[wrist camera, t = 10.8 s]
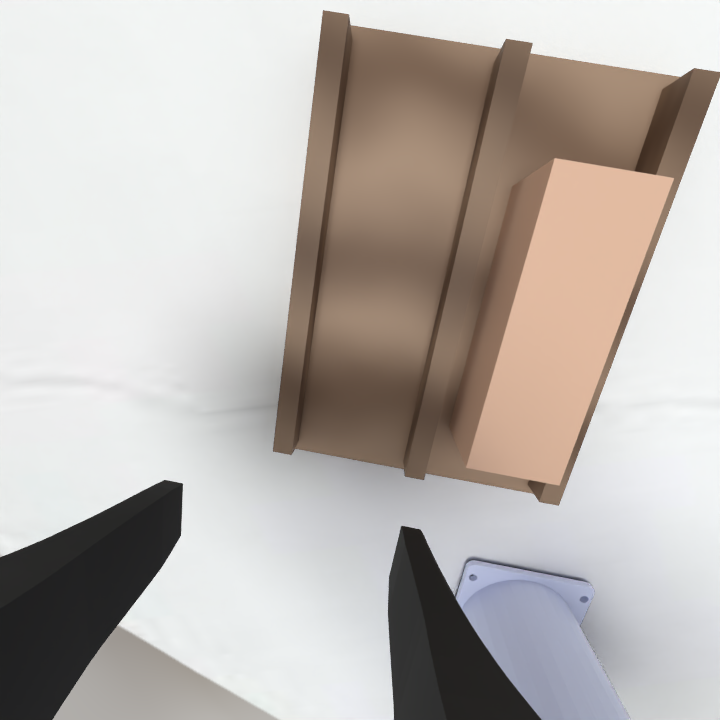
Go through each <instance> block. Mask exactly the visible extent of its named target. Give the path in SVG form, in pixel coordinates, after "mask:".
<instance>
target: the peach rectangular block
mask: <svg viewBox="0 0 720 720" xmlns="http://www.w3.org/2000/svg"><path fill="white" fill-rule="evenodd" d="M673 180H674V178H671V177H665V176H659V175H653V174H647V173H641V172H635V171H629V170H623V169H617V168H611V167H605V166H599V165H593V164H587V163H581V162H575V161H569V160H563V159H557V158H554V159H553V160H551V161H550V162H548V163H547V164H545V165H544V166H542V167H541V168H539V169H538V170H536V171H535V172H533V173H532V174H530V175H529V176H527V177H526V178H524V179H523V180H521V181H520V182H518V183H517V184H515V185H514V186H512V189H511V193H510V197H509V200H508V204H507V208H506V212H505V216H504V220H503V223H502V227H501V231H500V235H499V239H498V242H497V246H496V250H495V254H494V258H493V261H492V265H491V269H490V273H489V277H488V281H487V284H486V288H485V292H484V296H483V300H482V303H481V307H480V311H479V315H478V319H477V322H476V326H475V330H474V334H473V338H472V342H471V345H470V349H469V353H468V357H467V361H466V364H465V368H464V372H463V376H462V380H461V383H460V387H459V391H458V395H457V399H456V402H455V406H454V410H453V414H452V418H451V422H450V425H449V428H450V430H451V433H452V435H453V437H454V440H455V442H456V445H457V447H458V450H459V452H460V454H461V457H462V459H463V462H464V464H465V466H466V468H469V469H475V470H480V471H485V472H490V473H496V474H501V475H506V476H511V477H517V478H522V479H527V480H532V481H538V482H543V483H548V484H553V485H560V483H561V480H562V477H563V475H564V472H565V469H566V467H567V464H568V461H569V459H570V456H571V453H572V451H573V448H574V445H575V443H576V440H577V437H578V434H579V432H580V429H581V426H582V424H583V421H584V418H585V416H586V413H587V410H588V408H589V405H590V402H591V400H592V397H593V394H594V392H595V389H596V386H597V384H598V381H599V378H600V376H601V373H602V370H603V368H604V365H605V362H606V359H607V357H608V354H609V351H610V349H611V346H612V343H613V341H614V338H615V335H616V333H617V330H618V327H619V325H620V322H621V319H622V317H623V314H624V311H625V309H626V306H627V303H628V301H629V298H630V295H631V293H632V290H633V287H634V285H635V282H636V279H637V276H638V274H639V271H640V268H641V266H642V263H643V260H644V258H645V255H646V252H647V250H648V247H649V244H650V242H651V239H652V236H653V234H654V231H655V228H656V226H657V223H658V220H659V218H660V215H661V212H662V210H663V207H664V204H665V201H666V199H667V196H668V193H669V191H670V188H671V185H672V183H673Z"/></svg>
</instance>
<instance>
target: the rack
mask: <svg viewBox="0 0 720 720" xmlns="http://www.w3.org/2000/svg"><path fill="white" fill-rule="evenodd" d="M532 44H533V43H529V42H523V41H516V40H510V39H506V40H505V42H504V44H503V46H502V48H501V49H498V48H492V47H486V46H479V45H473V44H466V43H460V42H454V41H447V40H441V39H435V38H428V37H422V36H415V35H409V34H403V33H396V32H390V31H384V30H377V29H371V28H364V27H358V26H352V25H350V18H349V14H343V13H337V12H330V11H324V10H323V16H322V24H321V33H320V42H319V51H318V60H317V68H316V77H315V86H314V95H313V103H312V112H311V121H310V130H309V139H308V147H307V156H306V165H305V174H304V182H303V191H302V200H301V209H300V218H299V226H298V235H297V244H296V253H295V262H294V270H293V279H292V288H291V297H290V305H289V314H288V323H287V332H286V341H285V349H284V358H283V367H282V376H281V385H280V393H279V402H278V411H277V420H276V428H275V437H274V446H273V451H274V452H279V453H284V454H290V455H292V453H293V451H294V449H300V450H306V451H311V452H316V453H321V454H327V455H332V456H337V457H343V458H348V459H353V460H358V461H364V462H369V463H374V464H380V465H385V466H390V467H395V468H401V469H404V474H405V477H411V478H416V479H421V480H424V477H425V473H427V474H432V475H438V476H443V477H448V478H454V479H459V480H464V481H469V482H475V483H480V484H485V485H491V486H496V487H501V488H506V489H512V490H517V491H522V492H528V493H533V494H534V495H535V496H536V498H537V499H538V501H539V502H543V503H548V504H553V505H558V506H559V504H560V501H561V498H562V496H563V493H564V490H565V488H566V485H567V482H568V480H569V477H570V474H571V472H572V469H573V466H574V464H575V461H576V458H577V456H578V453H579V450H580V448H581V445H582V442H583V440H584V437H585V434H586V432H587V429H588V426H589V424H590V421H591V418H592V416H593V413H594V410H595V408H596V405H597V402H598V400H599V397H600V394H601V392H602V389H603V386H604V384H605V381H606V378H607V376H608V373H609V371H610V368H611V365H612V363H613V360H614V357H615V355H616V352H617V349H618V347H619V344H620V341H621V339H622V336H623V333H624V331H625V328H626V325H627V323H628V320H629V317H630V315H631V312H632V309H633V307H634V304H635V301H636V299H637V296H638V293H639V291H640V288H641V285H642V283H643V280H644V277H645V275H646V272H647V269H648V267H649V264H650V261H651V259H652V256H653V253H654V251H655V248H656V245H657V243H658V240H659V238H660V235H661V232H662V230H663V227H664V224H665V222H666V219H667V216H668V214H669V211H670V208H671V206H672V203H673V200H674V198H675V195H676V192H677V190H678V187H679V184H680V182H681V179H682V176H683V174H684V171H685V168H686V166H687V163H688V160H689V158H690V155H691V152H692V150H693V147H694V144H695V142H696V139H697V136H698V134H699V131H700V128H701V126H702V123H703V120H704V118H705V115H706V112H707V110H708V107H709V105H710V102H711V99H712V97H713V94H714V91H715V89H716V86H717V83H718V81H719V78H720V72H715V71H708V70H702V69H696V68H694V69H692V70H691V71H689V72H688V73H686V74H685V75H683V76H682V77H677V76H671V75H664V74H658V73H651V72H645V71H639V70H632V69H626V68H620V67H613V66H607V65H600V64H594V63H588V62H581V61H575V60H568V59H562V58H556V57H549V56H543V55H537V54H530V52H531V48H532ZM554 158H557V159H563V160H569V161H575V162H581V163H587V164H593V165H599V166H605V167H611V168H617V169H623V170H629V171H635V172H641V173H647V174H653V175H659V176H665V177H671V178H674V180H673V183H672V185H671V188H670V191H669V193H668V196H667V199H666V201H665V204H664V207H663V210H662V212H661V215H660V218H659V220H658V223H657V226H656V228H655V231H654V234H653V236H652V239H651V242H650V244H649V247H648V250H647V252H646V255H645V258H644V260H643V263H642V266H641V268H640V271H639V274H638V276H637V279H636V282H635V285H634V287H633V290H632V293H631V295H630V298H629V301H628V303H627V306H626V309H625V311H624V314H623V317H622V319H621V322H620V325H619V327H618V330H617V333H616V335H615V338H614V341H613V343H612V346H611V349H610V351H609V354H608V357H607V359H606V362H605V365H604V368H603V370H602V373H601V376H600V378H599V381H598V384H597V386H596V389H595V392H594V394H593V397H592V400H591V402H590V405H589V408H588V410H587V413H586V416H585V418H584V421H583V424H582V426H581V429H580V432H579V434H578V437H577V440H576V443H575V445H574V448H573V451H572V453H571V456H570V459H569V461H568V464H567V467H566V469H565V472H564V475H563V477H562V480H561V483H560V485H553V484H548V483H543V482H538V481H532V480H527V479H522V478H517V477H511V476H506V475H501V474H496V473H490V472H485V471H480V470H475V469H469V468H466V466H465V464H464V462H463V459H462V457H461V454H460V452H459V450H458V447H457V445H456V442H455V440H454V437H453V435H452V433H451V430H450V428H449V425H450V422H451V418H452V414H453V410H454V406H455V402H456V399H457V395H458V391H459V387H460V383H461V380H462V376H463V372H464V368H465V364H466V361H467V357H468V353H469V349H470V345H471V342H472V338H473V334H474V330H475V326H476V322H477V319H478V315H479V311H480V307H481V303H482V300H483V296H484V292H485V288H486V284H487V281H488V277H489V273H490V269H491V265H492V261H493V258H494V254H495V250H496V246H497V242H498V239H499V235H500V231H501V227H502V223H503V220H504V216H505V212H506V208H507V204H508V200H509V197H510V193H511V189H512V186H514V185H515V184H517V183H518V182H520V181H521V180H523V179H524V178H526V177H527V176H529V175H530V174H532V173H533V172H535V171H536V170H538V169H539V168H541V167H542V166H544V165H545V164H547V163H548V162H550V161H551V160H553V159H554Z"/></svg>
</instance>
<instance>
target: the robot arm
mask: <svg viewBox="0 0 720 720" xmlns="http://www.w3.org/2000/svg"><path fill="white" fill-rule="evenodd" d="M182 492H183V484H182V483H177V482H172V481H167V480H164V481H162V482H160V483H157V484H155V485H153V486H151V487H150V488H148V489H146V490H144V491H142V492H140V493H138V494H136V495H134V496H132V497H130V498H128V499H126V500H124V501H123V502H121V503H119V504H117V505H115V506H113V507H111V508H109V509H107V510H105V511H103V512H101V513H99V514H97V515H95V516H93V517H91V518H89V519H87V520H85V521H83V522H80V523H78V524H76V525H74V526H72V527H70V528H68V529H66V530H63V531H61V532H59V533H57V534H55V535H53V536H51V537H48V538H46V539H44V540H42V541H39V542H37V543H35V544H32V545H30V546H28V547H25V548H23V549H20V550H18V551H15V552H13V553H10V554H8V555H5V556H3V557H0V720H52V719H53V718H54V716H55V715H56V713H57V711H58V710H59V708H60V707H61V705H62V704H63V702H64V701H65V699H66V698H67V696H68V695H69V693H70V691H71V690H72V688H73V687H74V685H75V684H76V682H77V681H78V679H79V678H80V676H81V675H82V673H83V672H84V670H85V669H86V667H87V665H88V664H89V663H90V661H91V660H92V658H93V657H94V656H95V654H96V653H97V651H98V650H99V649H100V647H101V646H102V645H103V643H104V642H105V641H106V639H107V638H108V636H109V635H110V634H111V633H112V632H113V630H114V629H115V628H116V626H117V625H118V624H119V623H120V621H121V620H122V619H123V617H124V616H125V615H126V613H127V612H128V611H129V610H130V608H131V607H132V606H133V604H134V603H135V602H136V600H137V599H138V598H139V597H140V595H141V594H142V593H143V591H144V590H145V589H146V587H147V586H148V585H149V583H150V582H151V581H152V579H153V578H154V577H155V576H156V574H157V573H158V571H159V570H160V569H161V567H162V566H163V564H164V563H165V561H166V559H167V558H168V556H169V555H170V553H171V551H172V550H173V548H174V546H175V545H176V543H177V541H178V539H179V538H180V536H181V519H182ZM472 574H475V575H473V576H470V575H472ZM594 594H595V591H594V589H593V587H592V585H591V584H590V583H588V582H584V581H578V580H573V579H568V578H563V577H558V576H553V575H548V574H542V573H537V572H532V571H527V570H522V569H517V568H512V567H507V566H501V565H496V564H491V563H486V562H481V561H476V560H472V561H469V562H468V563H467V564H466V566H465V570H464V573H463V576H462V579H461V583H460V586H459V589H458V592H457V596H456V598H455V596H454V595H453V593H452V591H451V589H450V587H449V585H448V584H447V582H446V580H445V578H444V576H443V574H442V572H441V570H440V568H439V567H438V564H437V562H436V560H435V558H434V556H433V554H432V552H431V550H430V548H429V546H428V544H427V541H426V539H425V537H424V535H423V533H422V531H421V530H420V529H415V528H410V527H405V526H401V530H400V534H399V538H398V542H397V546H396V551H395V555H394V559H393V563H392V567H391V571H390V576H389V596H388V622H389V638H390V654H391V670H392V686H393V701H394V720H631V719H630V717H629V715H628V713H627V711H626V709H625V708H624V706H623V704H622V702H621V700H620V699H619V697H618V695H617V693H616V691H615V689H614V688H613V686H612V684H611V682H610V680H609V679H608V677H607V675H606V673H605V671H604V669H603V668H602V666H601V664H600V662H599V660H598V658H597V657H596V655H595V653H594V651H593V649H592V648H591V646H590V644H589V642H588V640H587V638H586V637H585V635H584V633H583V631H582V629H581V628H580V626H581V623H582V621H583V619H584V616H585V614H586V612H587V610H588V607H589V605H590V603H591V601H592V598H593V596H594Z"/></svg>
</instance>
